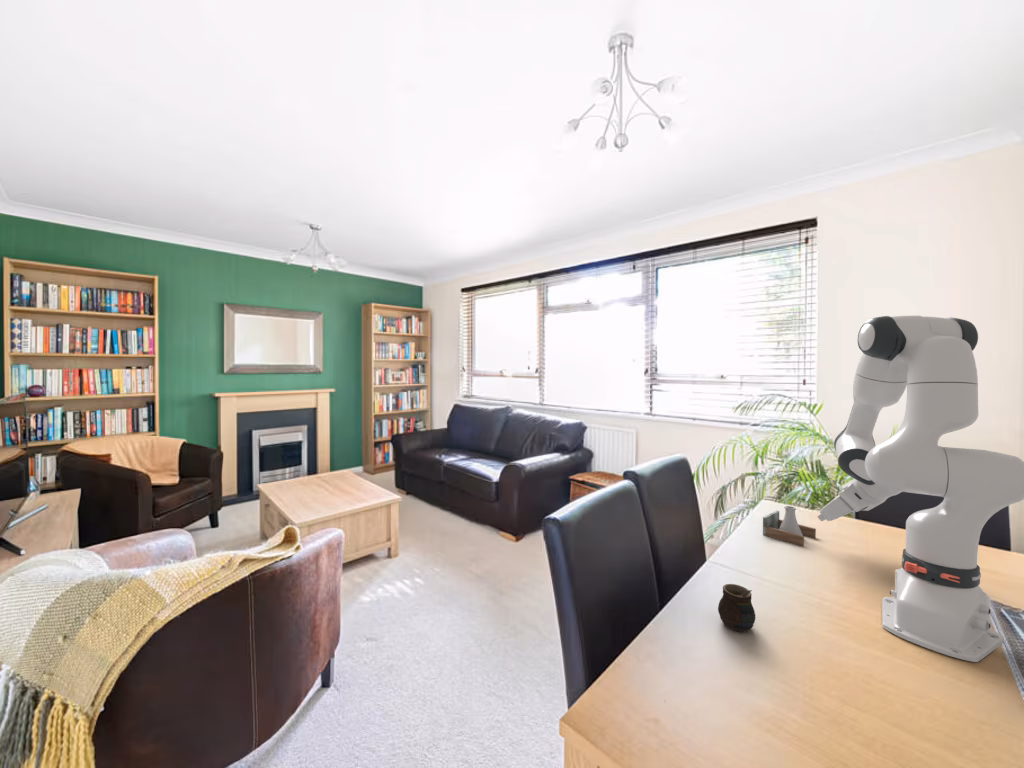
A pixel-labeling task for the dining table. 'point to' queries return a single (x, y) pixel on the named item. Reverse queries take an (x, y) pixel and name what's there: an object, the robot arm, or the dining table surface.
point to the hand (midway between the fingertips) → (820, 518)
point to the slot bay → (771, 530)
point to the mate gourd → (736, 608)
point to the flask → (790, 521)
